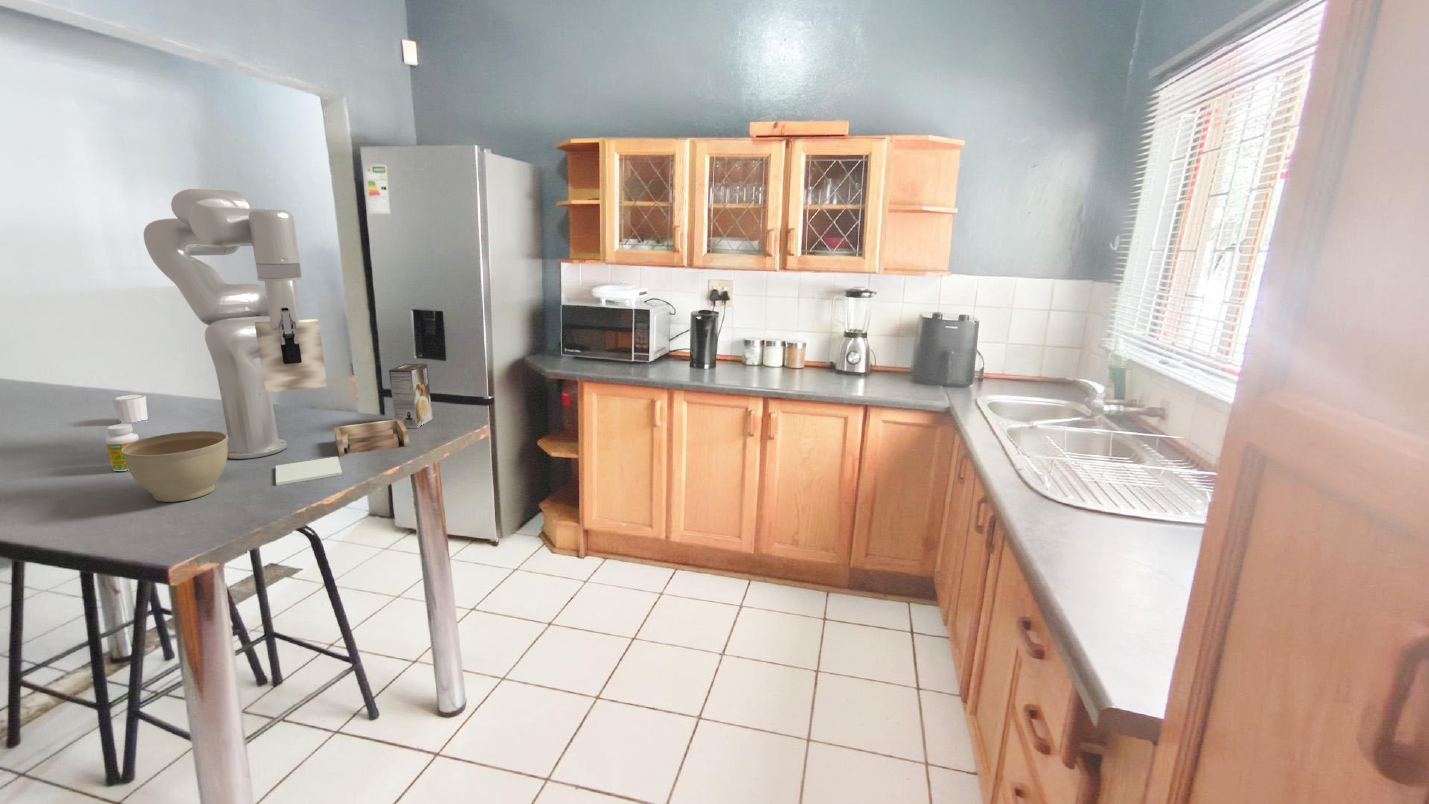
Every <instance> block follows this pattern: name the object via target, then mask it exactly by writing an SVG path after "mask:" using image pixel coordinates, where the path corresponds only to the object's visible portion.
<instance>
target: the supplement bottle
mask: <svg viewBox="0 0 1429 804" xmlns="http://www.w3.org/2000/svg"><path fill="white" fill-rule="evenodd" d="M133 431H134V428H133V425H132V424H121V423H119V424H113V425H110V426H107V433H108V435H110V436H108V437H107V438H106V439H105V444H106V447H107V451H108V457H109V461H110V466H111V470H112V469H114V470H125V469H128V467H127V464H126V461H125V458H124V457H123V455H122V452H121V450H122V448H123V447H125V446H126V445H128V444H130V443H133V442H136V441H139V440H140V436H139V434H137V433H134V432H133Z"/></svg>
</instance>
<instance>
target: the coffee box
mask: <svg viewBox="0 0 1429 804" xmlns="http://www.w3.org/2000/svg"><path fill="white" fill-rule="evenodd" d="M388 373H389V374H388V375H389V381H390V382H389V383H390V388H391V389H390V392H391V396H392V397H391V398H392V405H393V406H392V408H393V414H394V416H393V417H394V420H396V419H400V420H401V421H402V423H403V424H404V426H405V427H406V429H419V428H421V427H422V426H424V425H425V424H427V423H428V422H430V421H431V420H433V419H434V417H433V409H432V401H431V389H430V380H429V378H430V377H429V370H428V363H403V364H401V365H399V366H396V367H394V368H392V369H389V370H388ZM423 424H424V425H423ZM421 425H422V426H421ZM420 426H421V427H420Z"/></svg>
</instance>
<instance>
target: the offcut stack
mask: <svg viewBox="0 0 1429 804" xmlns="http://www.w3.org/2000/svg"><path fill="white" fill-rule="evenodd" d="M347 439H348V442H347V449H346V450H347V455H348V454H356V452H358V453H365V452H366V451H367V452H373V451H372V450H375V451H379V450H378V449H383V450H388V449H389V450H390V449H391V450H392V449H398V448H400V444H399V436H398V435H397V434H393V429H391V430H381V431H372V432H363V433H354V434H348V438H347ZM376 449H377V450H376Z"/></svg>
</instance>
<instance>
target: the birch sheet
mask: <svg viewBox="0 0 1429 804" xmlns="http://www.w3.org/2000/svg"><path fill="white" fill-rule="evenodd" d="M292 323H293V322H292ZM295 325H296V324H295ZM281 326H282V325H281ZM295 328H296V327H295ZM255 329H256V335H257V342H258V348H259V354H260V358H259V359H260V365H261V367H260V368H261V369H262V373H263V379H264V385H265V391H266V392H271V393H273V392H283V391H294V390H295V391H296V390H304V389H315V388H316V389H317V388H325V387H328V381H327V373H326V366H325V359H324V351H323V344H322V338H321V337H322V336H321V329H320V323H319V319H318V318H315V319H313V318H311V319H299V328H298V329H296V335H297V342H298V344H299V346H300V353H301V360H302V362H301V363H294V364H284V363H283V356H282V350H281V345H282V340H281V334H280V327H278V328H275V330H272V329H271V324H270V321H268V322H255ZM282 329H284V326H282ZM291 329H294V328H293V326H291ZM284 333H285V332H283V334H284ZM284 340H285V339H284ZM294 343H295V342H294Z"/></svg>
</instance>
